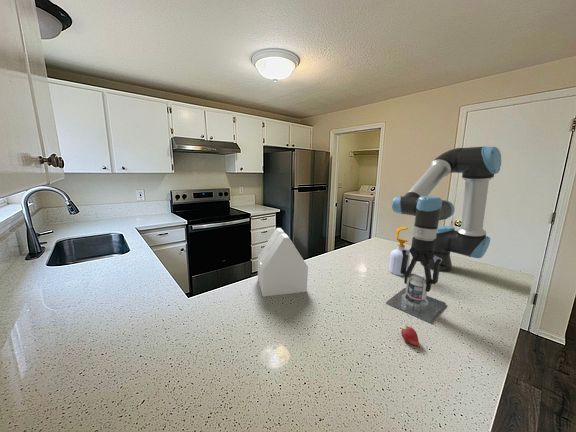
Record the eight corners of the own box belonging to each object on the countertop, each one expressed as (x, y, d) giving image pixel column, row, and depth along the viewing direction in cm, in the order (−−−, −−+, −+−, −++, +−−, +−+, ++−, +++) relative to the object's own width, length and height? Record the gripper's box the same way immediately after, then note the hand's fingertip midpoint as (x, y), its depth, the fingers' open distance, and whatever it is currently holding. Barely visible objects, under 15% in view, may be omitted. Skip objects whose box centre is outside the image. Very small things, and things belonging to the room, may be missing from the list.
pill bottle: (407, 292, 95) (409, 271, 94) (421, 294, 94) (424, 274, 92) (408, 298, 91) (411, 277, 89) (424, 301, 89) (427, 279, 87)
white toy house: (262, 296, 97) (263, 238, 92) (257, 279, 111) (257, 228, 107) (306, 291, 102) (309, 236, 97) (296, 276, 116) (298, 227, 111)
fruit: (413, 350, 70) (415, 335, 69) (396, 337, 75) (398, 323, 74) (422, 346, 72) (425, 331, 71) (406, 333, 77) (407, 320, 76)
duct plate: (404, 289, 106) (405, 283, 105) (445, 304, 94) (446, 297, 94) (386, 303, 94) (387, 296, 94) (430, 323, 83) (431, 315, 82)
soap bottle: (409, 276, 119) (416, 229, 114) (390, 274, 120) (396, 228, 116) (404, 269, 127) (410, 225, 122) (387, 267, 129) (392, 224, 124)
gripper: (395, 234, 92) (388, 288, 96) (449, 246, 78) (439, 309, 83) (403, 231, 97) (396, 283, 101) (455, 242, 83) (445, 301, 88)
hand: (415, 294), depth 92 cm, fingers closed on pill bottle, 5 cm apart
